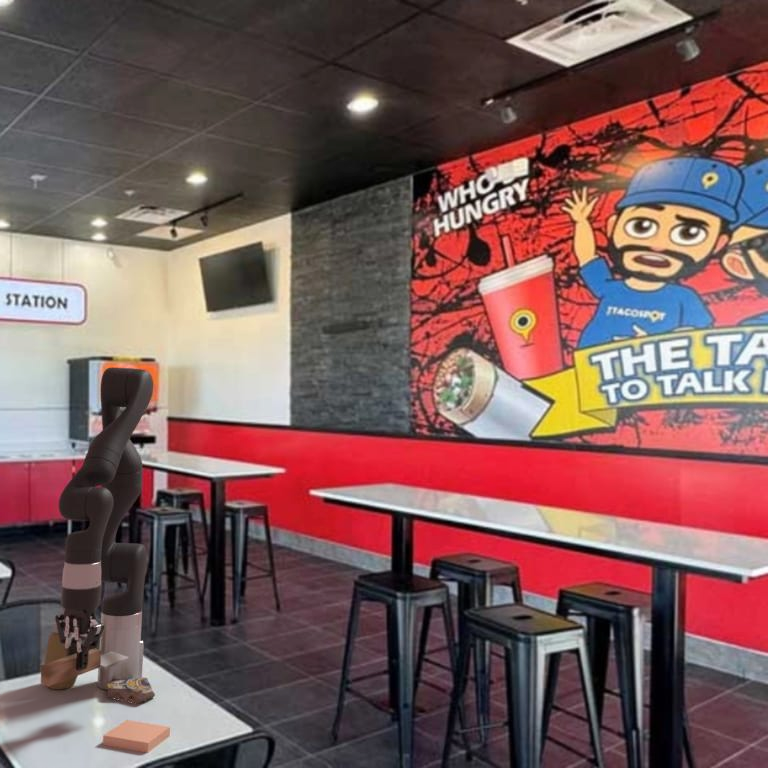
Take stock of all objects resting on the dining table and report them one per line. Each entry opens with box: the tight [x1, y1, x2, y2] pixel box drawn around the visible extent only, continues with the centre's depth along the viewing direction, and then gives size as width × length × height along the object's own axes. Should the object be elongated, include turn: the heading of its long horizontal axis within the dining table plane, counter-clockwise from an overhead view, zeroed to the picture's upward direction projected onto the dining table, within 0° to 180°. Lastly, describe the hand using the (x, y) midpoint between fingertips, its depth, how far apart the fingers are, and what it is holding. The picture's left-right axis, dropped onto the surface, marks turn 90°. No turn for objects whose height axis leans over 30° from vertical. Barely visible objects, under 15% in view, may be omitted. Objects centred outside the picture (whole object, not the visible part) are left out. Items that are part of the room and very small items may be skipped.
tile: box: [102, 719, 171, 753], centre depth 154 cm, size 2×8×10 cm
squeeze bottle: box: [44, 607, 78, 690], centre depth 181 cm, size 8×8×18 cm
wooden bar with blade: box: [40, 647, 129, 687], centre depth 161 cm, size 18×6×4 cm, turn 147°
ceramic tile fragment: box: [107, 676, 156, 704], centre depth 177 cm, size 12×3×10 cm
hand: (76, 667), depth 159 cm, fingers closed on wooden bar with blade, 2 cm apart
